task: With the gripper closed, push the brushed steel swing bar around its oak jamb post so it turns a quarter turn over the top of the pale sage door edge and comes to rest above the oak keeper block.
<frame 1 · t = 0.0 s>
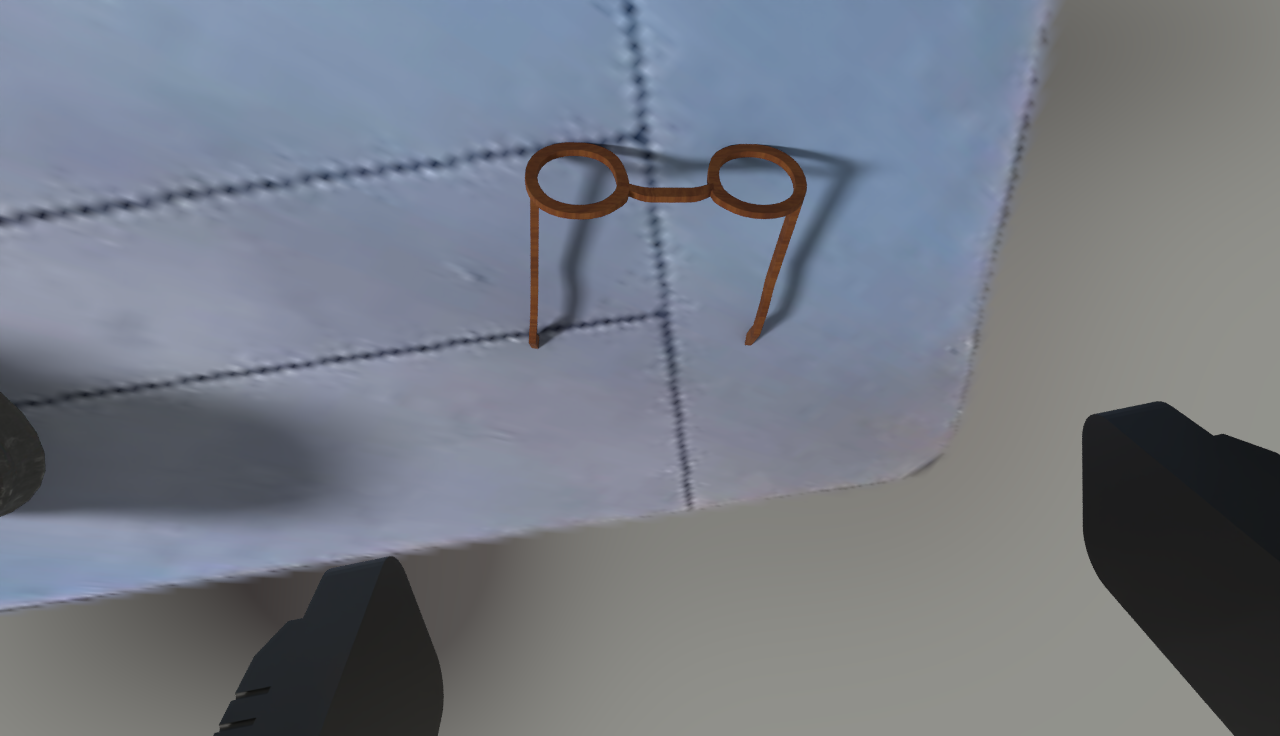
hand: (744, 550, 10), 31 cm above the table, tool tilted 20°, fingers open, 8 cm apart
glasses: (649, 247, 47), on the table
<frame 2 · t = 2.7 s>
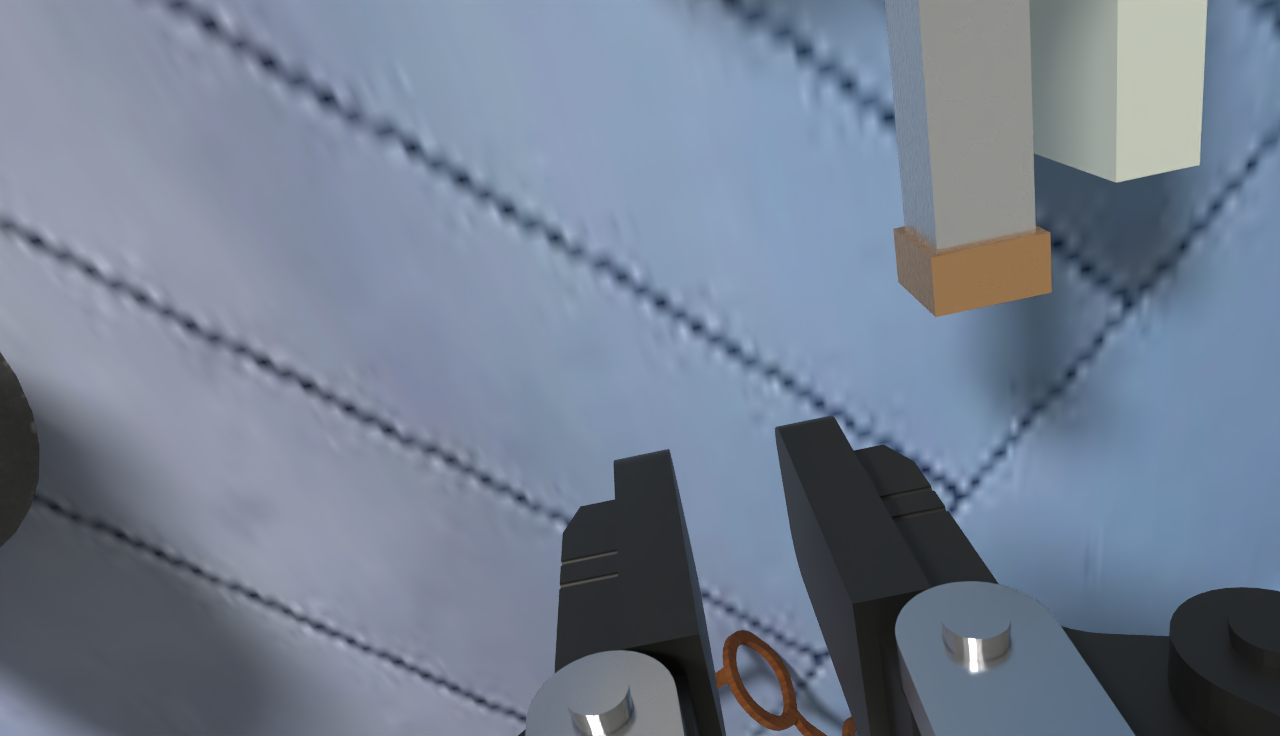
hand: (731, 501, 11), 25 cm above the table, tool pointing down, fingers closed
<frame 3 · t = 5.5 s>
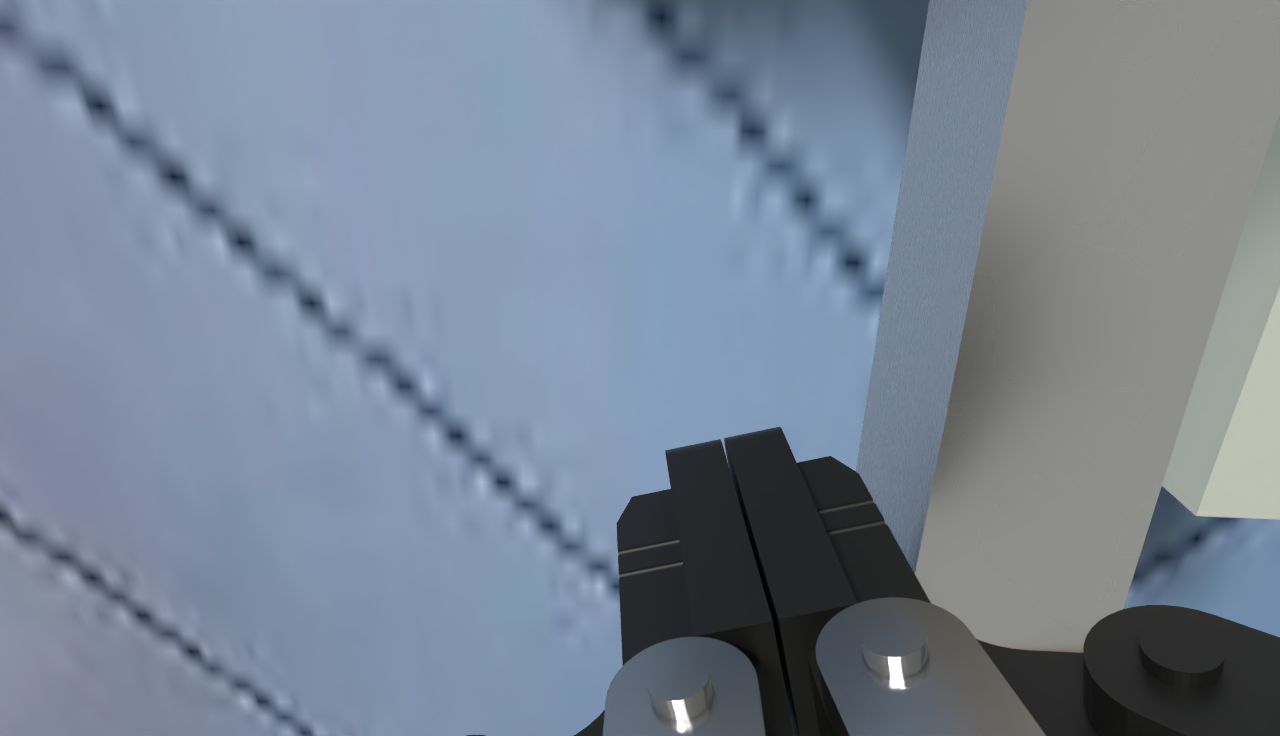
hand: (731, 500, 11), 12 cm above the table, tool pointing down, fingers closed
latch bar: (1111, 120, 8), point 13 cm above the table, hinge at 1.5°, touching gripper
door edge: (1116, 9, 20), on the table
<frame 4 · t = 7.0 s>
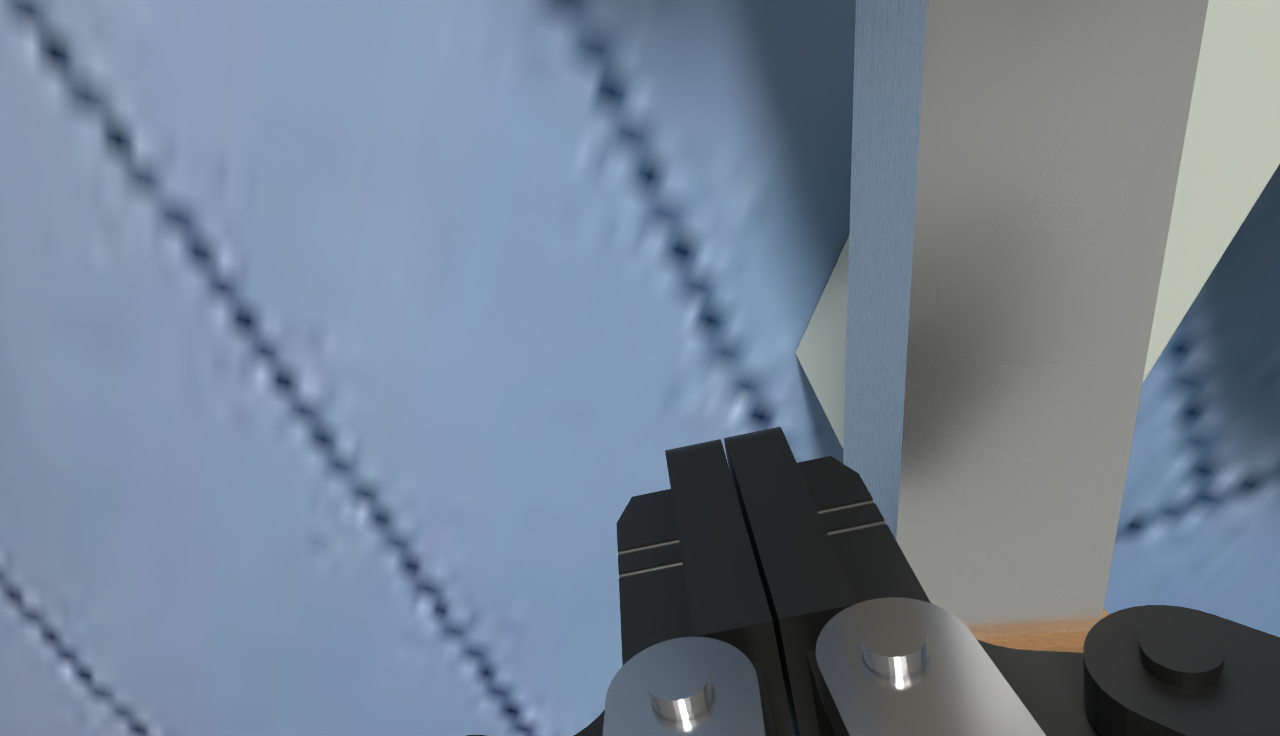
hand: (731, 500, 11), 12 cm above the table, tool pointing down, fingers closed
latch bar: (1033, 99, 9), point 13 cm above the table, hinge at 23.3°, touching gripper
door edge: (976, 74, 21), on the table
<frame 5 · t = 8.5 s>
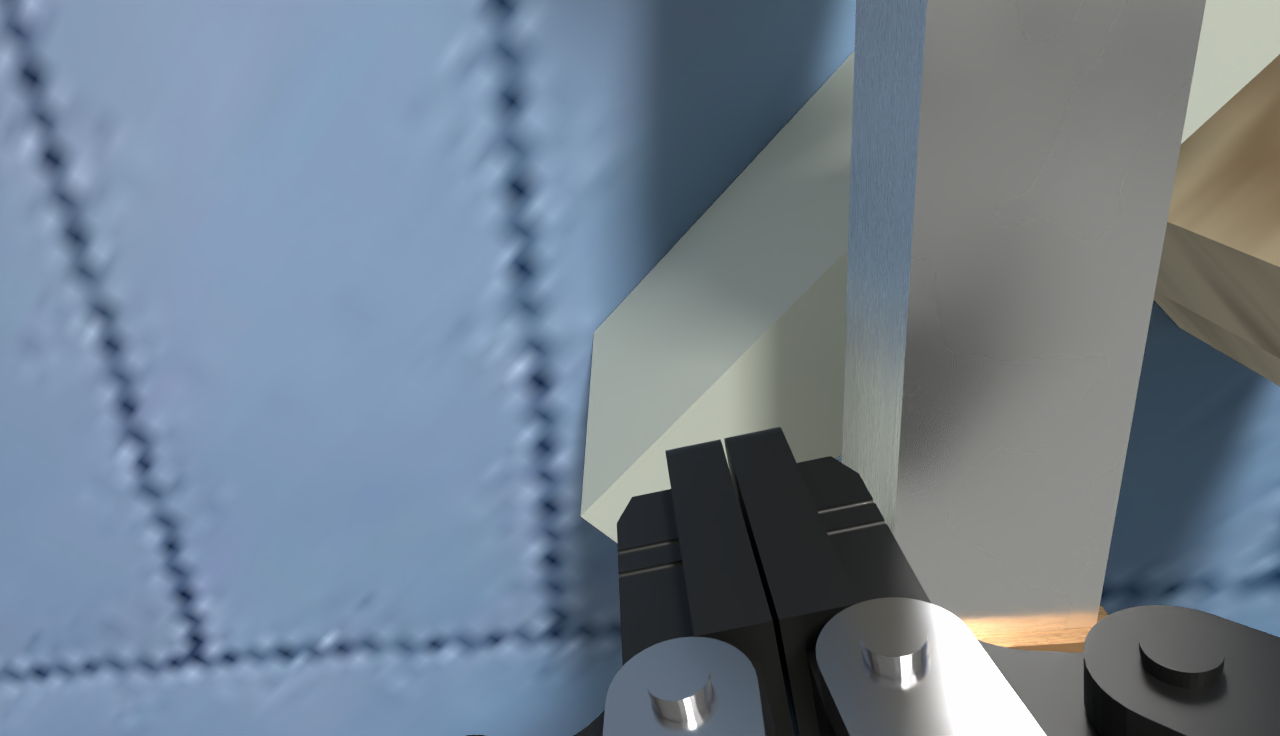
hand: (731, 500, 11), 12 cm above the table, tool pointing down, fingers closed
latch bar: (1032, 94, 9), point 13 cm above the table, hinge at 45.3°, touching gripper
keeper: (1182, 170, 22), on the table
door edge: (846, 133, 21), on the table
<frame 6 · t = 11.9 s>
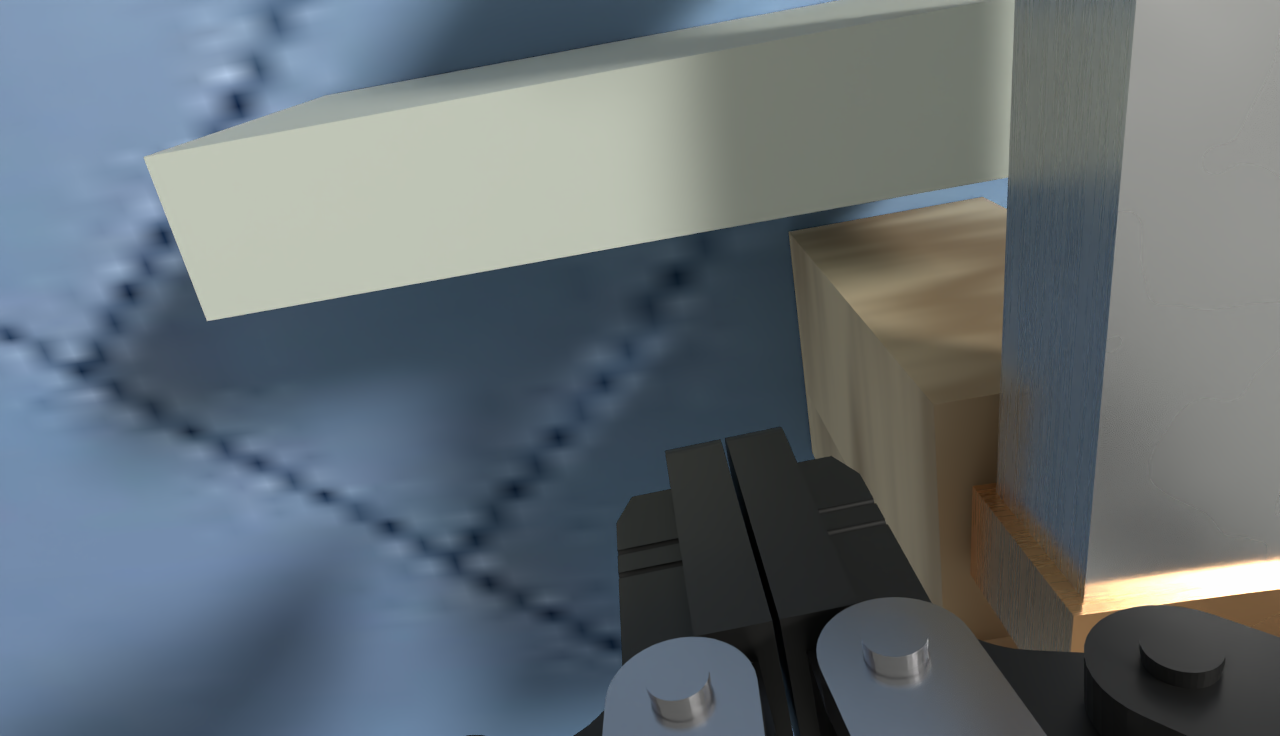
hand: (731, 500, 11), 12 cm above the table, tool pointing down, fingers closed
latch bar: (1231, 40, 9), point 13 cm above the table, hinge at 87.4°
keeper: (892, 323, 24), on the table
door edge: (667, 88, 21), on the table
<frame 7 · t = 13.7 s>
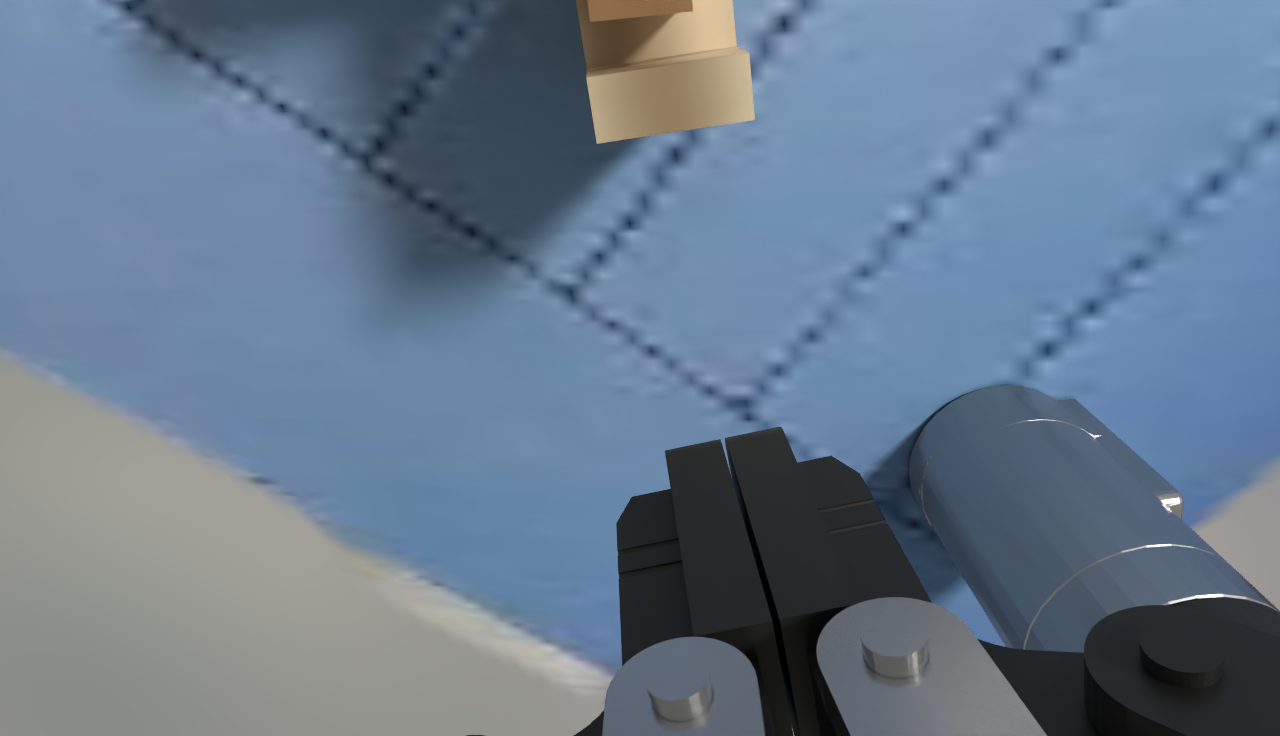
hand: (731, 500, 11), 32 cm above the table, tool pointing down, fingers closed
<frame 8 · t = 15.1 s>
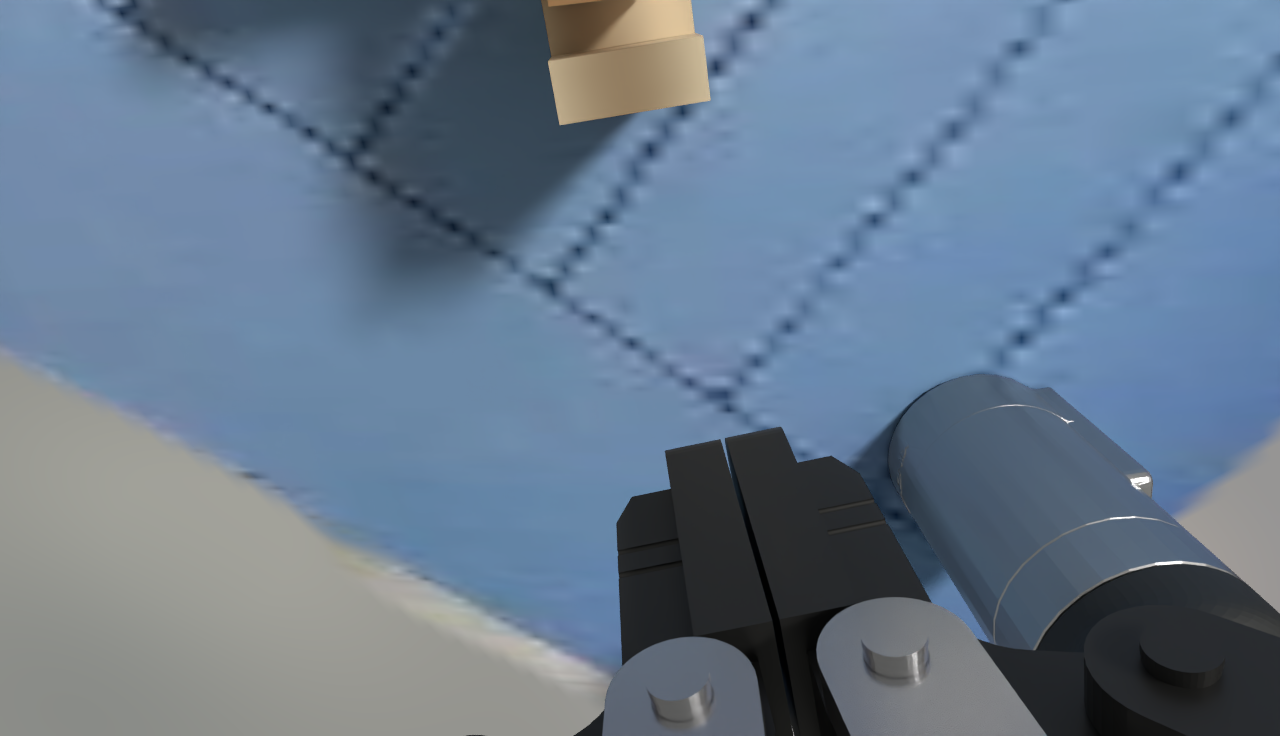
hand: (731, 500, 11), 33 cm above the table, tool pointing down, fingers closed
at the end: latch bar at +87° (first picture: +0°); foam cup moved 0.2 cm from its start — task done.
